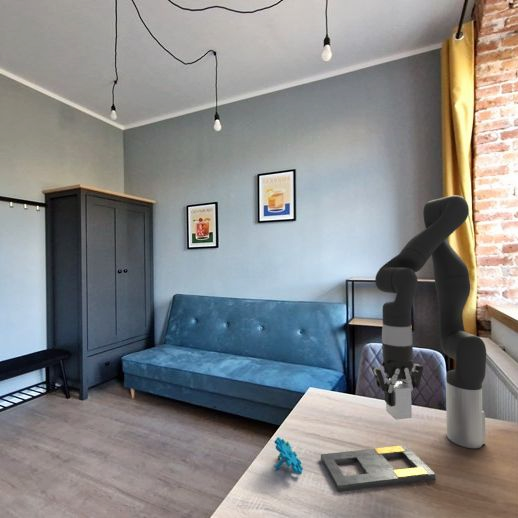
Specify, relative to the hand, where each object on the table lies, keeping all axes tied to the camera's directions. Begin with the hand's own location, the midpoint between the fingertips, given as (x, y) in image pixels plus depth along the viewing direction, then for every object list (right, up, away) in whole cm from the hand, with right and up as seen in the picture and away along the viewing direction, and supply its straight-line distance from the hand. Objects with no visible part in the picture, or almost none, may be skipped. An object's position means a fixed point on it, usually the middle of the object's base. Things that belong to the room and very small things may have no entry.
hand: (398, 403), depth 83 cm
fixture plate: (-7, -17, -1) cm, 18 cm away
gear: (-30, -17, 0) cm, 35 cm away
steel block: (0, -3, 0) cm, 3 cm away
